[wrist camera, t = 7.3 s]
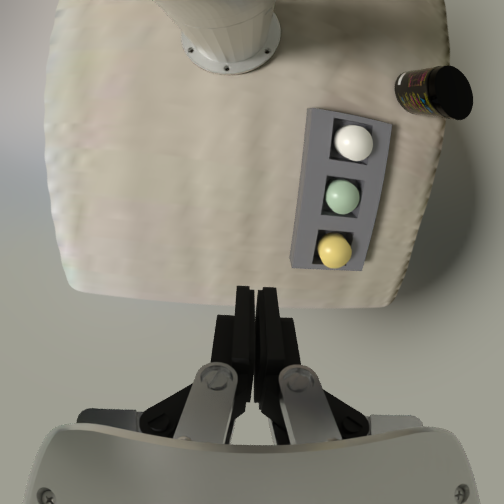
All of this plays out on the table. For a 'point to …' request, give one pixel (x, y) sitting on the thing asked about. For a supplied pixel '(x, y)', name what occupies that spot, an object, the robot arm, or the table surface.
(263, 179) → the table surface
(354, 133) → the white button
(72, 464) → the robot arm
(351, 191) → the green button
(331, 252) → the mustard button
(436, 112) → the supplement container
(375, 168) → the button panel
